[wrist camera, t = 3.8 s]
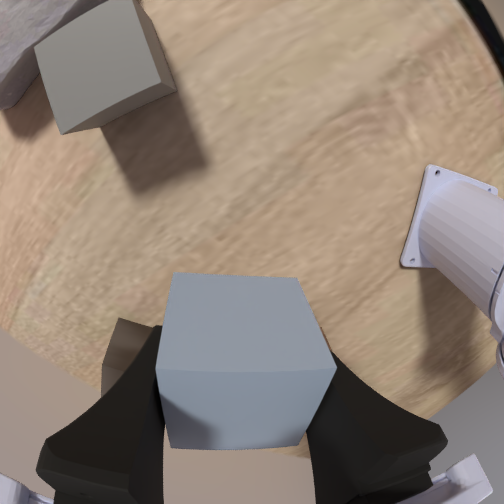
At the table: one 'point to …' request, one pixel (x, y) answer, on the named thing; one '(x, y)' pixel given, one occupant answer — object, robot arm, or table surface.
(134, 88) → the grey cube
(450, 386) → the table surface
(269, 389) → the slate blue cube
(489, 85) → the table surface
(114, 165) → the table surface
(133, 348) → the ebony cube
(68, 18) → the stone block
